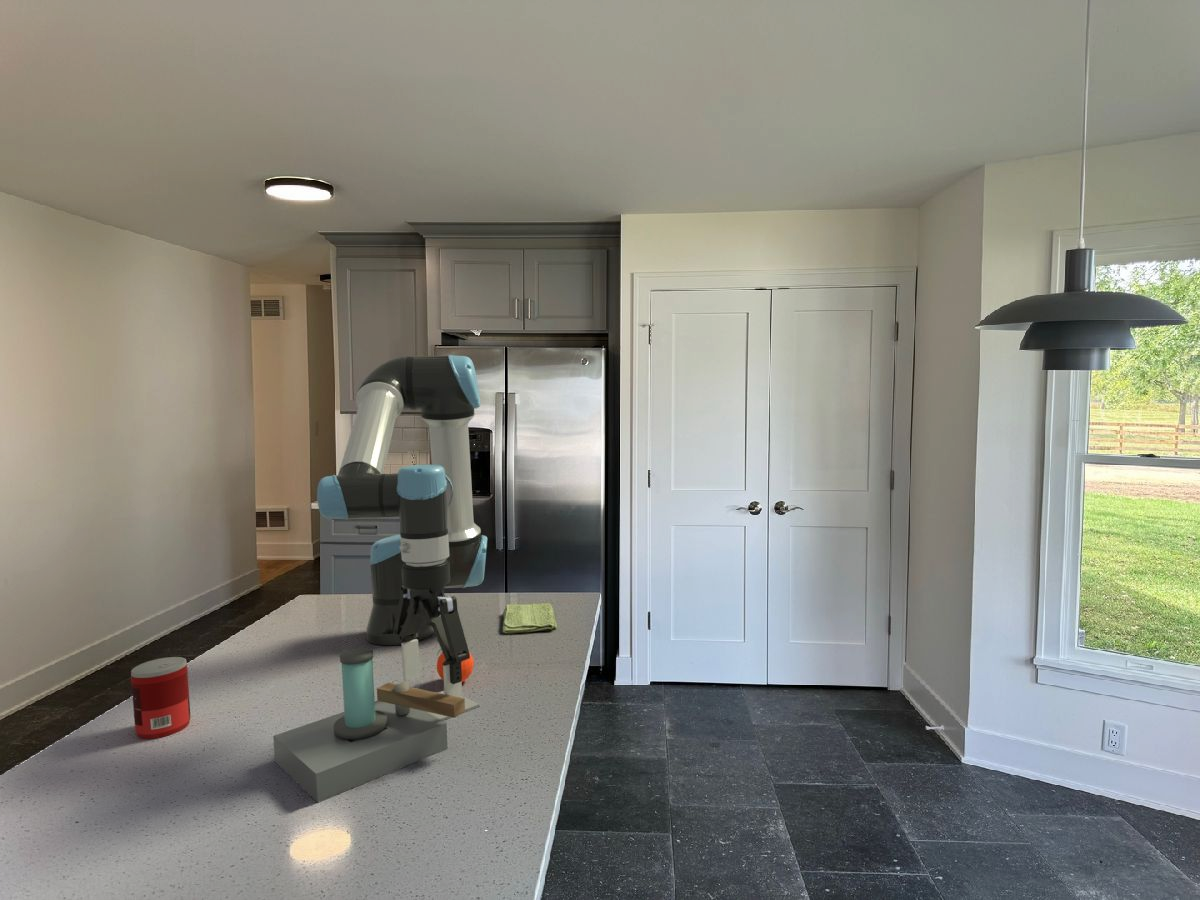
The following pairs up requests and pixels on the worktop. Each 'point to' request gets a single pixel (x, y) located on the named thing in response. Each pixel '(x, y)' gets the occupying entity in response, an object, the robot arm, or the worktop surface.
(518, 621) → the washcloth
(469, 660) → the clementine
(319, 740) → the socket block
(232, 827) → the worktop surface
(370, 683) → the plug
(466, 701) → the mat
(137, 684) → the canned food
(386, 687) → the brown wooden lever
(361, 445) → the robot arm
